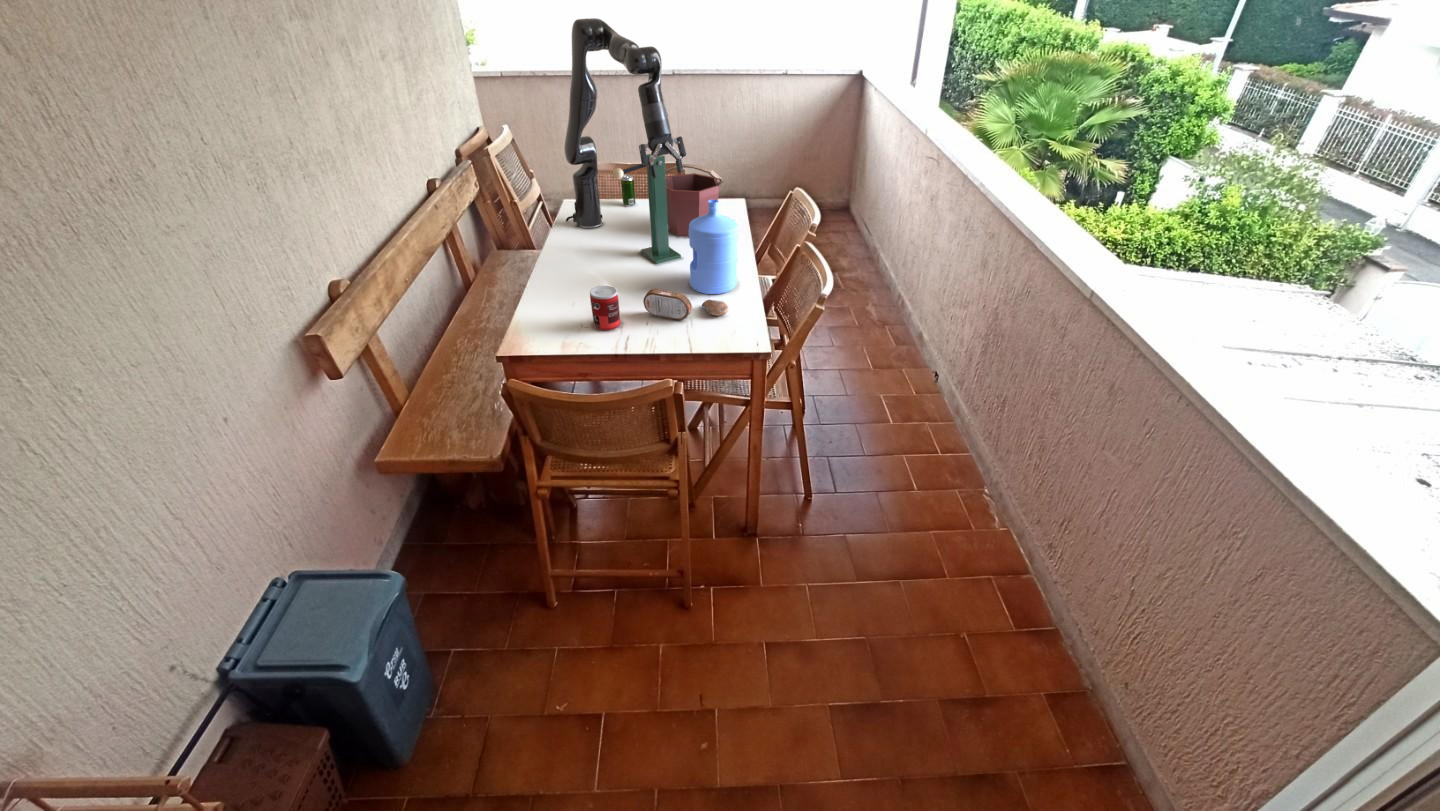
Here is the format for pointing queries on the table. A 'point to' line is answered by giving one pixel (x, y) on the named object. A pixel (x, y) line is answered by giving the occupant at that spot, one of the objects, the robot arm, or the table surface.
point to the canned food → (605, 307)
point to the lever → (625, 171)
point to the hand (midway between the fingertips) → (667, 175)
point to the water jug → (713, 252)
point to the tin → (667, 304)
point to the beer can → (628, 190)
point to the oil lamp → (715, 307)
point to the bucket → (689, 197)
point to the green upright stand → (658, 215)
